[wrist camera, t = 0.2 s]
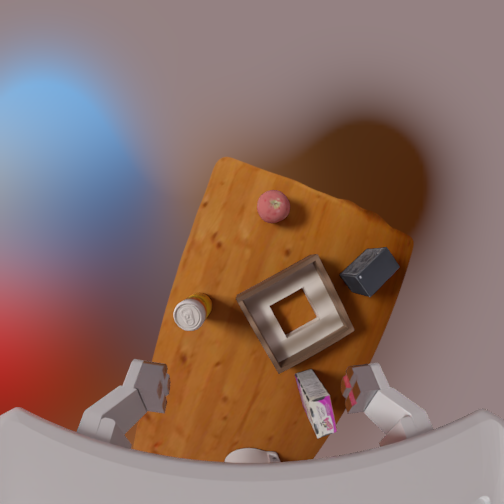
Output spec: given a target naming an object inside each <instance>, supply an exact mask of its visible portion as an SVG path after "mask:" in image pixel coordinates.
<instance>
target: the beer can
mask: <svg viewBox="0 0 504 504" xmlns="http://www.w3.org/2000/svg"><path fill="white" fill-rule="evenodd" d="M211 310H212V301H211V299H210V298H209V297H208V296H207V295H206V294H204V293H195V294H193V295H191V296H190V297H188V298H186V299H185V300H183V301H182V302H180V303H179V304H178V305H177V306H176V307H175V310H174V320H175V322H176V324H177V325H178V326H179V327H180V328H182V329H183V330H186V331H194V330H196V329H198V328H199V327H200V326H201V325H202V324H203V322H204V321H205V319H206V318H207V317H208V315H209V314H210V312H211Z"/></svg>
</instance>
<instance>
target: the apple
mask: <svg viewBox="0 0 504 504" xmlns="http://www.w3.org/2000/svg"><path fill="white" fill-rule="evenodd" d="M257 210H258V213H259V215H260V217H261V218H262V219H263V220H264V221H265V222H268V223H276V222H279V221H281V220H283V219H285V218H286V217H287V216H288V214H289V212H290V203H289V200H288V199H287V197H286V196H285V195H284V194H283V193H282V192H280V191H277V190H270V191H267V192H265V193H264V194H262V195H261V196H260V198H259V200H258V204H257Z"/></svg>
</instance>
